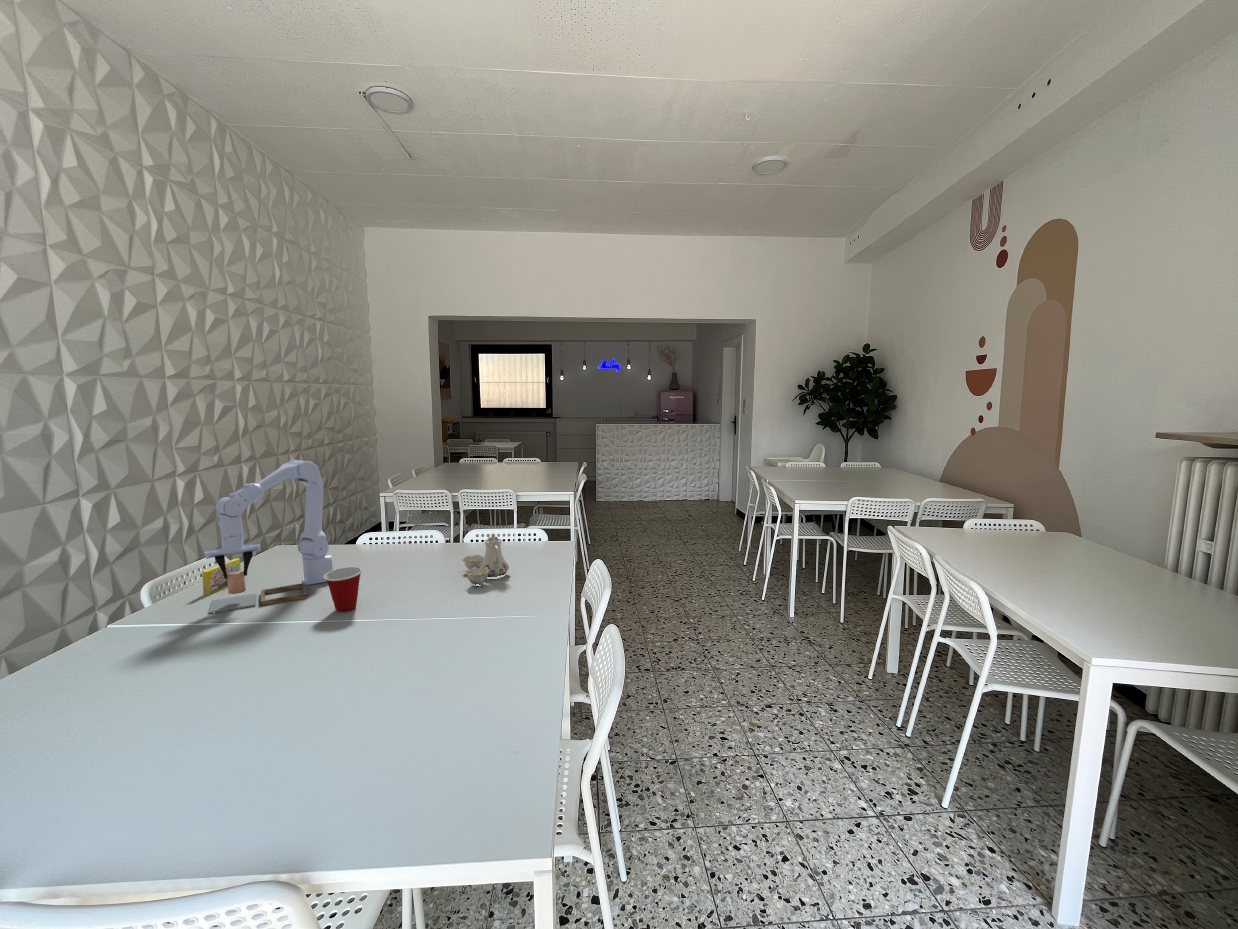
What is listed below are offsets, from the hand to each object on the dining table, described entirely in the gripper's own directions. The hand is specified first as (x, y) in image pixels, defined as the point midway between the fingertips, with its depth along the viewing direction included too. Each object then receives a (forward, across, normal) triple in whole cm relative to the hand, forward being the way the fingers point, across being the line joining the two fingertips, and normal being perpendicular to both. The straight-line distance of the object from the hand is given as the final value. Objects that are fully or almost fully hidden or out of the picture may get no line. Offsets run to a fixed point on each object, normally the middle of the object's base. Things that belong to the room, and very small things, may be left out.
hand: (235, 576), depth 180 cm
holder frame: (+9, -13, +1) cm, 16 cm away
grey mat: (+9, +1, 0) cm, 9 cm away
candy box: (+9, +3, -22) cm, 24 cm away
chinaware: (+9, -74, +24) cm, 79 cm away
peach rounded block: (+5, 0, 0) cm, 5 cm away
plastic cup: (+9, -26, +26) cm, 39 cm away
